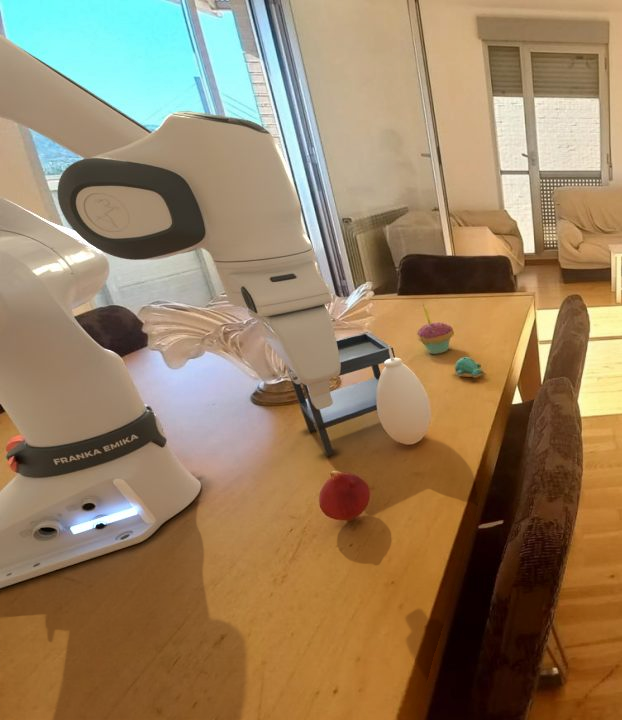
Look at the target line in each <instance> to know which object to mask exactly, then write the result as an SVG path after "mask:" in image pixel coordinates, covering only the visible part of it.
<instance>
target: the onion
mask: <svg viewBox="0 0 622 720" xmlns="http://www.w3.org/2000/svg"><path fill="white" fill-rule="evenodd" d="M329 475H330V477H329V478H328V479H327V480H326V481H325V482H324V484H323V486H322V487H321V489H320V491H319V496H318V503H319V504H318V506H319V508H320V510H321V512H322V513H323V514H324V515H325V516H326V517H328V518H330V519H333V520H335V521H347V522H351V521H354V520H355V519H356V518H358V517H359V516H360V515H361V514H363V512H364V511H365V510H366V508H367V507H368V505H369V502H370V500H371V499H370V498H371V492H370V491H371V490H370V487H369V485H368V483H367V482H366V481H365V480H364V479H363V478H362V477H361V476H359V475H358V474H355V473H351V472H342V471H339V470H333V471H331V472H330V473H329Z"/></svg>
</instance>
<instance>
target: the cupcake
mask: <svg viewBox="0 0 622 720" xmlns="http://www.w3.org/2000/svg"><path fill="white" fill-rule="evenodd" d="M422 306H423V312H424V315H425V318H426V320H427V324H425V325H423V326H421V328H419V329H418V331H417V333H416V335H417V339H418V341H419V342H421V343H422V344H423V345H424V347H425V348H426V350H427V352H428V354H429V353H430V354H433V355H436V354H437V355H438V354H442V353H445V352H447V351H449V346H450V342H451V341H450V340H451V338H452V337H453V336H454V334H455V331H454V328H453V327H452V326H451V325H449V324H447V323H444V322H433V323H432V320H431V318H430V315H429V312H428V309H427V307H426V306H425V304H422Z"/></svg>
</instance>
